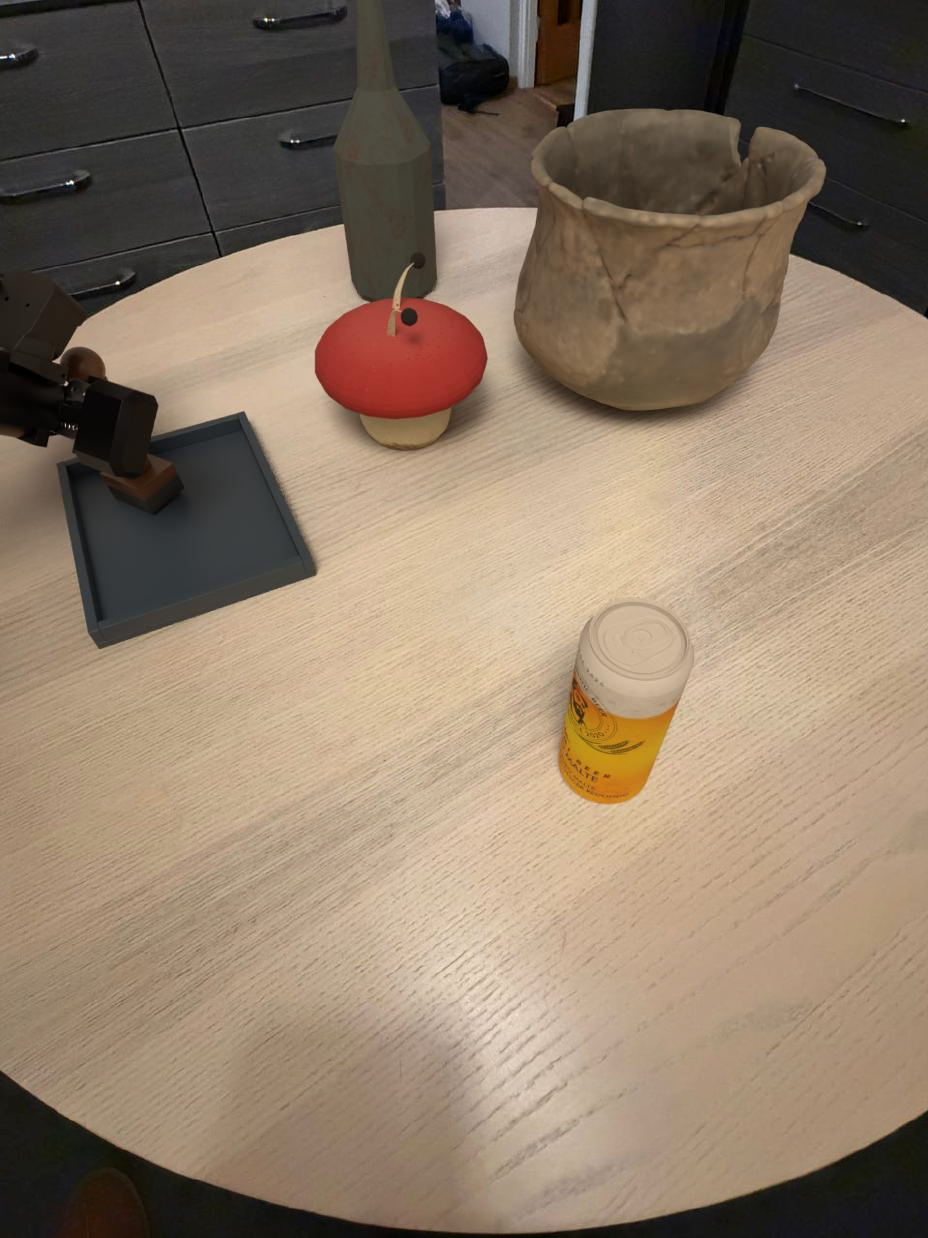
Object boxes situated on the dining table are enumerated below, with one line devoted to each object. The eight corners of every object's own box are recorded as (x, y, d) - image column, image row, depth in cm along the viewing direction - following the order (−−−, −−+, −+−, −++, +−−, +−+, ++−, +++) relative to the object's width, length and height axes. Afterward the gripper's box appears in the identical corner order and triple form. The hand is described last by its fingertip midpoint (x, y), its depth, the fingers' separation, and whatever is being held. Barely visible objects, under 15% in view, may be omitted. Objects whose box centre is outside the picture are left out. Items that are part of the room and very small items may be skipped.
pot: (721, 316, 85) (781, 98, 68) (781, 448, 71) (876, 213, 54) (504, 322, 85) (510, 105, 68) (519, 456, 71) (532, 223, 54)
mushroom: (485, 481, 69) (487, 332, 57) (315, 479, 69) (282, 331, 57) (488, 380, 78) (489, 235, 66) (339, 379, 79) (314, 234, 67)
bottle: (436, 264, 94) (421, -52, 70) (438, 305, 88) (423, -25, 64) (354, 267, 94) (311, -48, 70) (350, 309, 88) (303, -21, 64)
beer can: (542, 746, 52) (561, 612, 40) (618, 716, 53) (658, 577, 41) (584, 823, 48) (619, 701, 36) (665, 788, 50) (723, 660, 38)
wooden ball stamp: (185, 488, 67) (115, 343, 57) (152, 514, 65) (72, 369, 55) (147, 472, 69) (72, 330, 59) (113, 497, 67) (30, 355, 57)
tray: (99, 649, 58) (87, 633, 56) (65, 480, 70) (55, 462, 68) (316, 575, 62) (312, 558, 60) (249, 428, 74) (244, 410, 72)
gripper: (79, 286, 44) (241, 355, 59) (-126, 226, 50) (69, 303, 65) (42, 467, 46) (207, 490, 61) (-152, 391, 52) (43, 429, 67)
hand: (129, 423), depth 63 cm, fingers closed on wooden ball stamp, 3 cm apart
